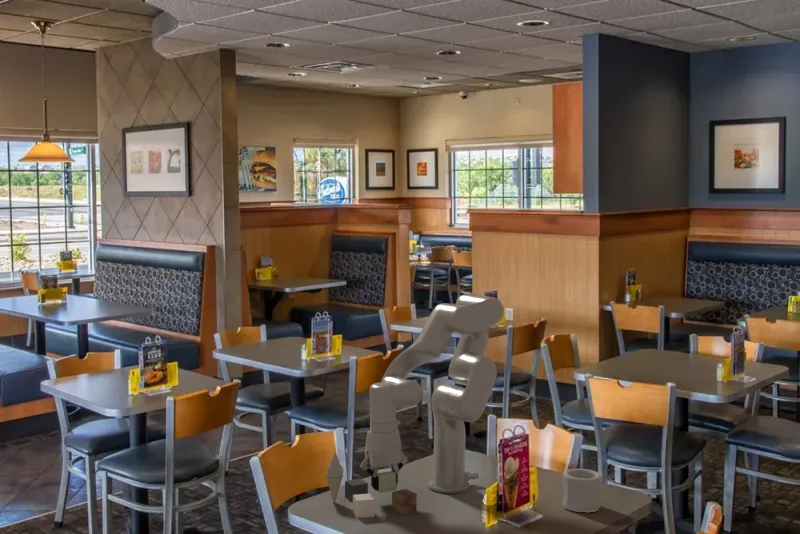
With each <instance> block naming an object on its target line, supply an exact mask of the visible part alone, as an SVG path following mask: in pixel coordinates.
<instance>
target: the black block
mask: <svg viewBox="0 0 800 534" xmlns="http://www.w3.org/2000/svg"><path fill="white" fill-rule="evenodd" d="M357 494H369V483H368V482H367V481H365V480H364V479H362V478H355V479H348V480H345V481H344V498H345V499H347V500H348V501H350V502H351V503H353V495H357Z"/></svg>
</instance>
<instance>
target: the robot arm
mask: <svg viewBox="0 0 800 534" xmlns="http://www.w3.org/2000/svg"><path fill="white" fill-rule="evenodd" d="M455 301H456V302H455V303H446V302H445V303H439V304H437V305H436V306H435V307H434V309H433V310H432V312H431V313H430V315H429V317H428V319H427V320H426V322H425V324H424V326H423V327H422V329H421V331H420V332H419V334H418V336H417V338H416V340H415V341H414V343H413V344H411V345H410V346H409V347H407V348H406V349H404V350H403V351H402V352H401V353H400V354H398V355H397V356H396V357H395V358H394V359H393V360H392V361H391V362H390V363H389V365H388V368H387V369H386V370H385V373H384V374H383V376H382V378H381V381H380V382H375V383H372V384H371V385H370V387H369V392H368V393H369V427H370V428H369V429H370V430H367V433H366V437H365V438H366V439H365V445H364V446H365V448H364V459H362V462H361V463H360V464H359V467H360V469H362V470H364V471H366V472H367V473H368V474H369V475H370V482H371V488H372V489H374V491H377V492H378V490H379V478H378V477H377V473H378V470H380V468H382V467H387V466H390V469H391V470H392V471H394V472H395V473H396V488H397V487H398V484H399V473H400V471H401V469H402V468H403V467H404V465H405V464H406V463H407V462H408V461H409V458H408V457H407V456H406V455H405V454H404V453H403V448H402V440H401V435H400V431H399V428H398V425H401V420H400V419H397V408H402V407H403V408H405V407H406V408H409V407H413V406H416V405H417V404H419V403H420V402H421V400H422V399H423V396H424V390H423V388H422V386H421V384H419V383H418V382H416V381H415V380H411V379H408V378H407V377H408V375H409V374H410V373H411V372H412V371H414V370H415V369H416V368H417V367H420V366H421V365H424V364H427V363H430V362H433V361H435V360H437V359H439V358H440V356H441V355H442V353H443V351H444V350H445V347H446V346H447V344H448V342H449V341H450V339H451V337H452V335H453V334H458V335H460V337H459V341H458V343H457V346H456V348H455V350H454V353H453V355H452V358H451V360H450V363H449V367H448V375H449V377H450V378H451V379H452V380H453V381H455V382H458V383H461V384H464V385H466V386H465V387H464V386H459V385H455V384H451V383H444V384H439V386H437V387H436V388H435V389H434V390H433V392H432V395H431V402H430V403H431V410H432V414H433V424H434V425H433V426H434V427H433V430H434V431H433V432H434V434H433V478H432V479H430V480H429V481H428V483H427V487H428V488H429V489H430V490H432V491H434V492H438V493H442V494H443V493H444V494H456V493H459V494H460V493H463V492H466V491H468V490H469V488H470V482H469V481H470V480H478V479H479V478H480V476H479V475H480V474H479V472H478V471H476V472H471V471H466V470H465V467H466V465H465V463H466V458H465V457H466V426H465V422H467V423H472V422H473V423H474V422H475V421H477V420H479V419H480V418H481V417H482V415H483V413H484V411H485V409H486V407H487V404H488V401H489V399H490V396H491V393H492V392H493V388H494V386H495V384H496V379H497V376H498V375H497V373H498V370H497V369H498V368H497V366H496V363H495V361H494V360H493V359H492V358H490V357H488V356H485V355H484V354H485V351H486V348H487V346H488V340H489V335H488V331H487V328H491V327H493V326H495V325H496V324H498V323H499V322H500V321H501V320H502V318H503V316H504V305H503V304H502V302H501V300H499V299H498V298H496V297H494V296H487V295H479V294H472V293H466V294H461V295H460V296H459V297H458V298H457V299H456V300H455ZM368 464H369V465H370V467H368Z"/></svg>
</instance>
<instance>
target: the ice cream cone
mask: <svg viewBox="0 0 800 534" xmlns="http://www.w3.org/2000/svg"><path fill="white" fill-rule="evenodd" d="M340 461H341V460H339V458H338V455H337V452H336V451H334V454H333V456H332V458H331V459H330V465H328V466H327V468H326V472H327V473H326V474H325V477H326V480H327V484H328V488H329V490H330V495H331V499H332V503H333V504H334V503H336V501H337V498H338V493H339V491H340V486H341V483H342V480H343V476H344V467H343V466H342V464H341V463H340Z"/></svg>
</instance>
